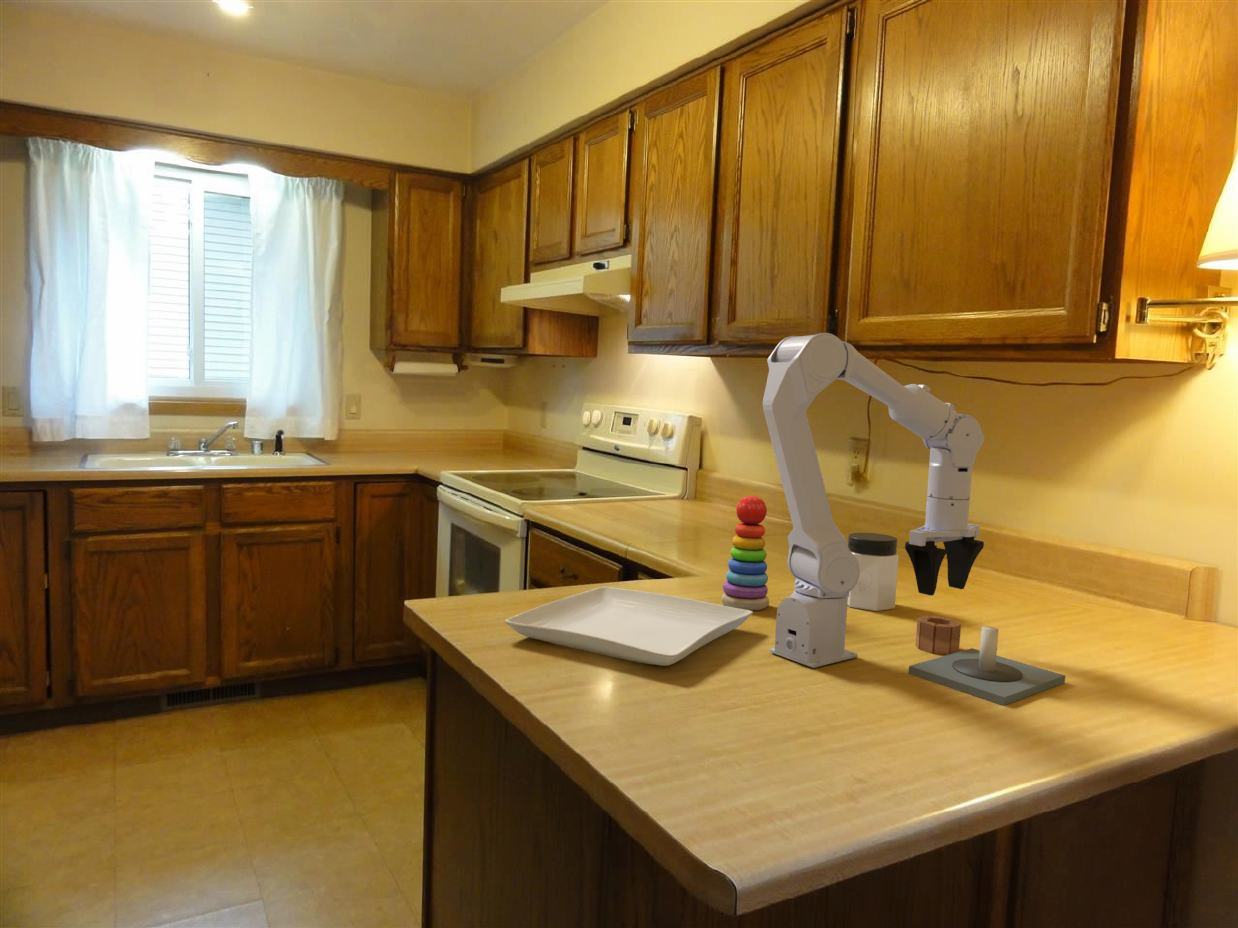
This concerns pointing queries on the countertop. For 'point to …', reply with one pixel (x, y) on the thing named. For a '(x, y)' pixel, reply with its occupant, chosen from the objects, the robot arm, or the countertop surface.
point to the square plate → (629, 624)
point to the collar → (938, 635)
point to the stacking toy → (748, 559)
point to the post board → (987, 673)
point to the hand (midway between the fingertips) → (941, 590)
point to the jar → (874, 571)
